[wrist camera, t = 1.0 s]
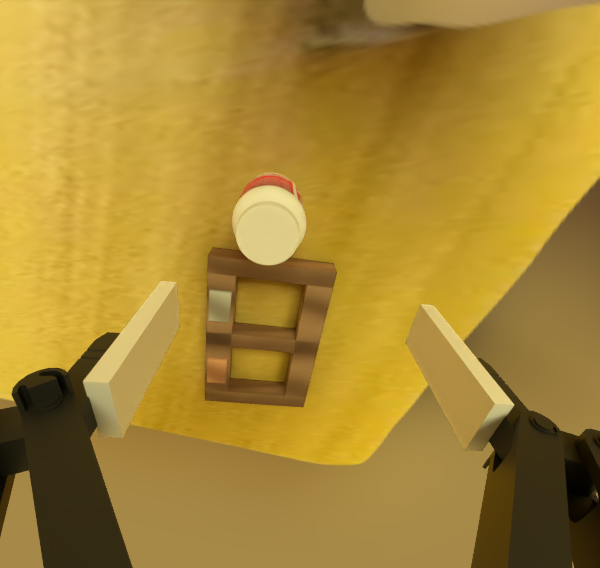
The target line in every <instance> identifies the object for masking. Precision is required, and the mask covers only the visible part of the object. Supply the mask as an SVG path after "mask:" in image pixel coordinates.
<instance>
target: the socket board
mask: <svg viewBox="0 0 600 568" xmlns="http://www.w3.org/2000/svg"><path fill="white" fill-rule="evenodd" d="M336 274H337V272H336V269H335V266H334V264H333V263H326V262H319V261H311V260H304V259H296V258H288V259H287V260H286V261H284V262H282V263H279V264H276V265H261V264H258V263H255V262H253V261H251V260H250V259H248V258H247V257H246V256H245V255H244V254H243V253H242V252H241V251H236V250H229V249H221V248H214V247H213V248H212V250H211V252H210V253H209V255H208V279H207V324H206V370H205V400H207V401H221V402H235V403H250V404H264V405H278V406H292V407H304V403H305V399H306V395H307V391H308V387H309V383H310V379H311V375H312V371H313V367H314V363H315V359H316V354H317V350H318V346H319V342H320V338H321V334H322V330H323V326H324V322H325V318H326V314H327V310H328V306H329V302H330V298H331V294H332V290H333V286H334V282H335V278H336ZM238 277H245V278H253V279H261V280H270V281H278V282H286V283H294V284H302V285H304V286H303V292H302V297H301V302H300V307H299V312H298V317H297V322H296V327H295V328H285V327H275V326H266V325H256V324H246V323H237V322H234V321H235V308H236V295H237V282H238ZM233 347H237V348H247V349H258V350H269V351H280V352H290V358H289V363H288V369H287V374H286V379H285V383H284V382H271V381H259V380H246V379H234V378H230V374H231V361H232V348H233Z"/></svg>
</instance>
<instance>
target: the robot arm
mask: <svg viewBox="0 0 600 568" xmlns="http://www.w3.org/2000/svg"><path fill="white" fill-rule="evenodd" d="M179 327H180V317H179V304H178V291H177V282H169V281H161V282H160V283H159V284H158V286H157V287H156V288H155V289H154V291H153V292H152V293H151V295H150V296H149V297H148V298H147V300H146V301H145V302H144V304H143V305H142V306H141V307H140V309H139V310H138V311H137V313H136V314H135V315H134V316H133V318H132V319H131V320H130V322H129V323H128V324H127V325H126V327H125V328H124V329H123V331H122V332H121V333H109V332H107V333H106V334H104V335H103V336H101V337H99V338H98V339H96V340H95V341H94V342H93V343H92V345H91V346H90V347H89V348H88V349H87V351H85V353H84V354H83V355H82V356H81V359H79V360H78V361H77V362H76V363H75V364H74V365H73V366H72V368H71V369H70V370H69V371H68V372H66V371H65V370H63V369H60V368H47V369H43V370H39V371H36V372H34V373H32V374H29V375H27V376H26V377H24V378H23V379H21V380H20V381H19V382H18V383H17V384H16V385H15V386H14V388H13V391H12V396H13V399H14V401H15V403H16V405H17V406H16V407H10V408H5V409H0V536H1V531H2V527H3V523H4V519H5V515H6V511H7V507H8V503H9V499H10V495H11V490H12V486H13V482H14V478H15V474H16V473H20V472H23V471H28V470H29V472H30V478H31V485H32V492H33V499H34V505H35V512H36V518H37V526H38V532H39V538H40V546H41V552H42V559H43V566H44V568H133V567H132V564H131V561H130V558H129V555H128V552H127V549H126V546H125V543H124V540H123V537H122V534H121V531H120V528H119V525H118V522H117V519H116V516H115V513H114V510H113V507H112V504H111V501H110V498H109V495H108V492H107V488H106V486H105V482H104V480H103V476H102V473H101V471H100V467H99V464H98V461H97V458H96V455H95V452H94V449H93V446H92V443H91V440H90V437H91V435H92V433H93V432H94V430H95V429H96V427H97V429H98V432H99V436H100V437H114V438H115V437H116V438H122V437H123V436H124V434H125V432H126V430H127V428H128V426H129V424H130V422H131V420H132V418H133V416H134V414H135V413H136V411H137V409H138V407H139V405H140V403H141V401H142V399H143V397H144V395H145V393H146V391H147V389H148V387H149V385H150V383H151V381H152V379H153V378H154V376H155V374H156V372H157V370H158V368H159V366H160V364H161V362H162V360H163V358H164V356H165V354H166V352H167V350H168V348H169V346H170V344H171V342H172V341H173V339H174V337H175V335H176V333H177V331H178V329H179ZM406 344H407V346H408V348H409V350H410V352H411V353H412V355H413V357H414V359H415V361H416V362H417V364H418V366H419V368H420V370H421V372H422V373H423V375H424V377H425V379H426V381H427V383H428V384H429V386H430V388H431V390H432V392H433V393H434V395H435V397H436V399H437V401H438V403H439V404H440V406H441V408H442V410H443V411H444V414H445V415H446V417H447V419H448V421H449V422H450V424H451V426H452V428H453V430H454V432H455V433H456V435H457V437H458V439H459V441H460V443H461V444H462V446H463V448H464V450H471V451H473V450H474V451H483V449H484V448H485V446H486V445H487V443H488V442H490V443H491V445H492V447H493V448H494V451H493V453H492V454H491V455H490V457H489V458H488V459H487V461H486V462H485V464H484V465H483V468H485V469H486V467H487V466H488V465H489V468H488V474H487V480H486V486H485V491H484V497H483V502H482V508H481V514H480V520H479V526H478V531H477V537H476V542H475V548H474V554H473V559H472V565H471V568H572V561H573V564H574V568H600V431H597V430H593V429H586V430H585V431H584V432H583V433H582V434H581V435H580V436H576V435H573V434H570V433H566V432H563V431H560V430H559V428H558V427H557V426H556V425H555V424H554V423H553V422H552V421H551V420H550V419H548V418H547V417H545V416H543V415H541V414H539V413H537V412H534V411H529V410H528V409H527V408H526V407H525V406H524V404H523V403H522V402H521V401H520V400H519V399H518V398H517V396H516V395H515V394H514V393H513V392H512V390H511V389H510V388H509V387H508V386H507V385H506V384H505V382H504V381H503V380H502V378H501V377H499V375H498V374H497V373H496V371H495V370H494V369H493V368H492V367H491V366H490V365H489V364H488V363H486V362H485V361H484V360H482V359H481V358H476V357H475V356H474V355H473V353H472V352H471V351H470V350H469V348H468V347H467V346H466V345H465V343H464V342H463V341H462V340H461V339H460V337H459V336H458V335H457V334H456V332H455V331H454V330H453V329H452V327H451V326H450V325H449V324H448V323H447V321H446V320H445V319H444V318H443V316H442V315H441V314H440V313H439V311H438V310H437V309H436V308H435V307H434V305H427V304H420V306H419V309H418V311H417V314H416V316H415V319H414V322H413V324H412V327H411V329H410V332H409V335H408V337H407V340H406ZM596 493H598V497H599V498H597V496H596Z"/></svg>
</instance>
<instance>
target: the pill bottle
mask: <svg viewBox="0 0 600 568" xmlns="http://www.w3.org/2000/svg"><path fill="white" fill-rule="evenodd" d="M306 225H307V222H306V214H305V211H304V207H303V203H302V200H301V195H300V193H299V190H298V189H297V187H296V186H295V184H294V183H293V182H292V181H291V180H290V179H289V178H287V177H286V176H284V175H281V174H279V173H272V172H270V173H263V174H260V175H258V176H256V177H255V178H253V179H252V180H251V181H250V182H249V183H248V184H247V186H246V187H245V189H244V191H243V193H242V195H241V196H240V198H239V200H238V202H237V203H236V205H235V208H234V211H233V215H232V228H233V232H234V235H235V237H236V241H237V244H238V247H239V249H240V250H241V252H242V253H243V254H244V255H245V256H246V257H247V258H248V259H250V260H251V261H253V262H255V263H258V264H261V265H276V264H279V263H282V262H284V261H286V260H287V259H288V258H290V257H291V256H292V255H293V253H294V252H295V250H296V248H297V247H298V246H299V245H300V244H301V242H302V240H303V238H304V236H305V232H306Z"/></svg>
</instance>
